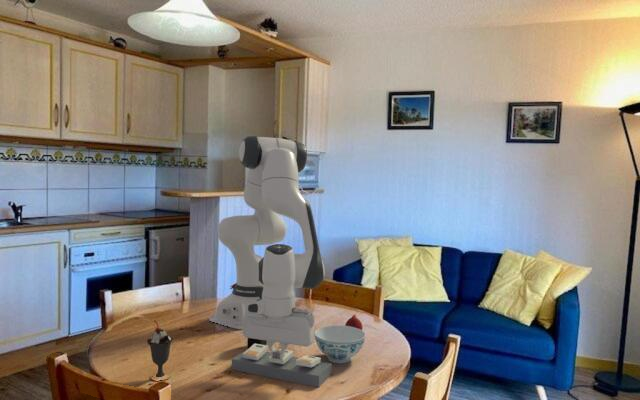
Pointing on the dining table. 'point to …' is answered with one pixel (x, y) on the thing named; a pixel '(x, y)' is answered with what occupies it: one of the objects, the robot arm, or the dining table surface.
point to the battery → (255, 342)
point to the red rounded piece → (354, 322)
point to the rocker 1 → (255, 351)
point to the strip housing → (284, 369)
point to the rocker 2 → (286, 358)
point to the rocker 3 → (308, 361)
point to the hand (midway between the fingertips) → (277, 357)
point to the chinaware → (339, 342)
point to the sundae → (160, 348)
